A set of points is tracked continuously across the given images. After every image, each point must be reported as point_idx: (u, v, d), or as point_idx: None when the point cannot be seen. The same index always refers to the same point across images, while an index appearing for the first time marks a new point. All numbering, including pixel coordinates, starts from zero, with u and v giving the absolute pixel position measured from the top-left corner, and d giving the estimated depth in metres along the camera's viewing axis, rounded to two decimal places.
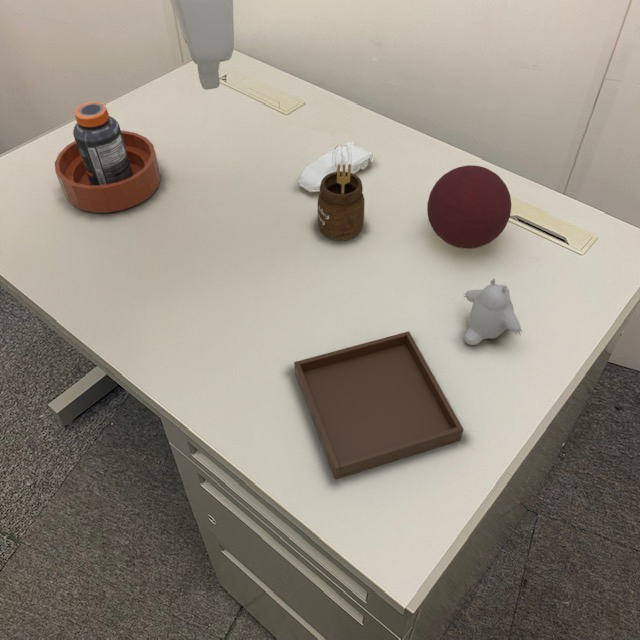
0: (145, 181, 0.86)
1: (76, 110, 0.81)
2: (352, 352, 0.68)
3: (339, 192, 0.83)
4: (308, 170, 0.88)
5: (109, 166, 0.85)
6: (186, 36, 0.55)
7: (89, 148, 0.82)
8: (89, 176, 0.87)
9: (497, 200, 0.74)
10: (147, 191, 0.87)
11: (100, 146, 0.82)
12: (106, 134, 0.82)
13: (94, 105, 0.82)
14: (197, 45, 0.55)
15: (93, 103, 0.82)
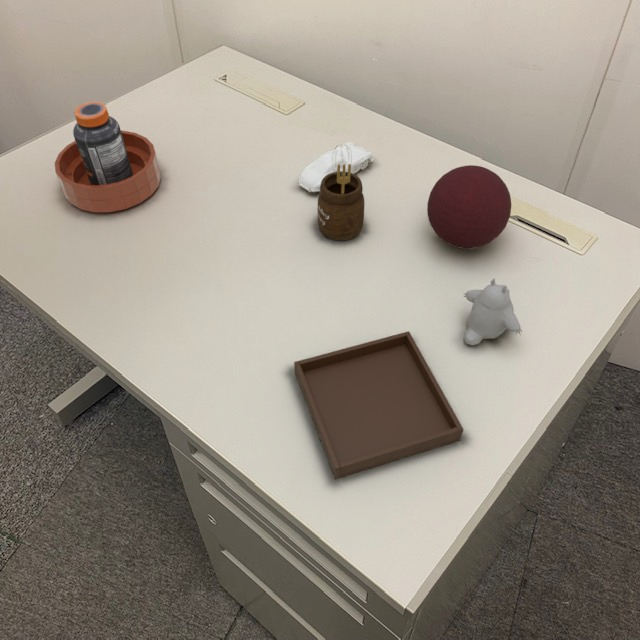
0: (145, 181, 0.86)
1: (76, 110, 0.81)
2: (352, 352, 0.68)
3: (339, 192, 0.83)
4: (308, 170, 0.88)
5: (109, 166, 0.85)
6: None
7: (89, 148, 0.82)
8: (89, 176, 0.87)
9: (497, 200, 0.74)
10: (147, 191, 0.87)
11: (100, 146, 0.82)
12: (106, 134, 0.82)
13: (94, 105, 0.82)
14: None
15: (93, 103, 0.82)
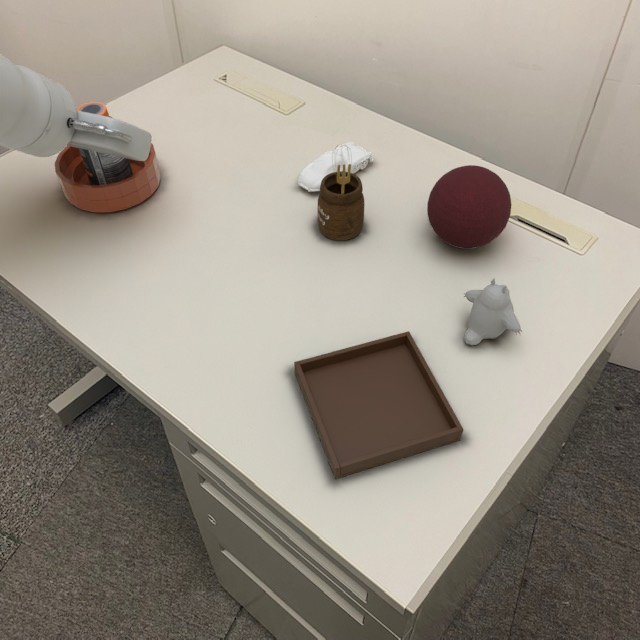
0: (145, 181, 0.86)
1: None
2: (352, 352, 0.68)
3: (339, 192, 0.83)
4: (307, 170, 0.88)
5: (109, 166, 0.85)
6: None
7: None
8: (89, 176, 0.87)
9: (497, 200, 0.74)
10: (147, 191, 0.87)
11: None
12: None
13: (94, 105, 0.82)
14: None
15: (93, 103, 0.82)
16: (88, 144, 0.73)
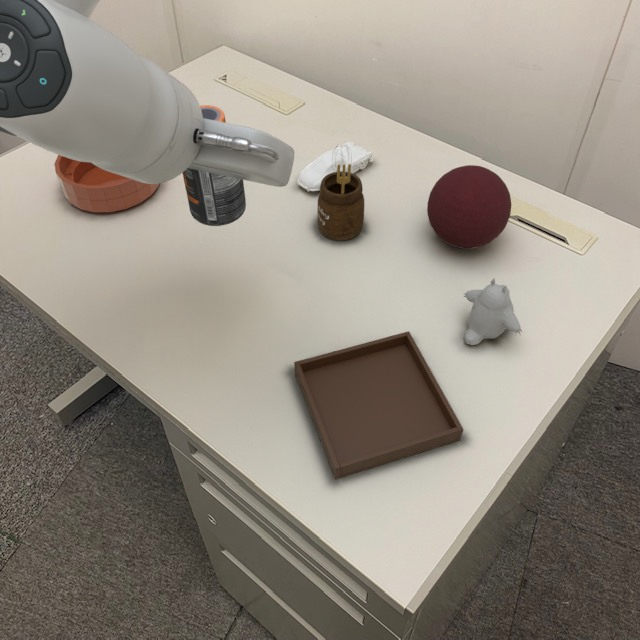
0: None
1: None
2: (352, 352, 0.68)
3: (339, 192, 0.83)
4: (307, 169, 0.88)
5: (223, 191, 0.64)
6: None
7: None
8: (193, 204, 0.65)
9: (497, 200, 0.74)
10: (147, 191, 0.87)
11: None
12: None
13: (208, 109, 0.61)
14: None
15: (205, 107, 0.61)
16: (218, 165, 0.52)
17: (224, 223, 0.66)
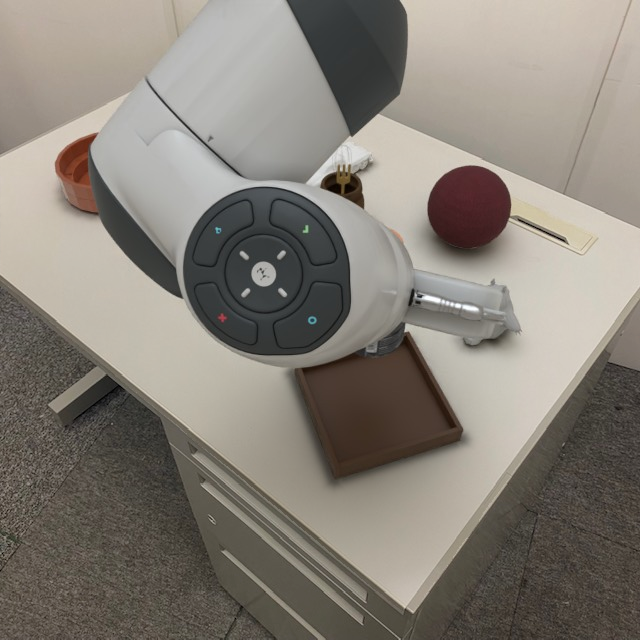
0: None
1: None
2: None
3: (339, 192, 0.83)
4: None
5: None
6: None
7: None
8: None
9: (497, 200, 0.74)
10: None
11: None
12: None
13: None
14: None
15: None
16: (430, 328, 0.42)
17: (383, 354, 0.56)
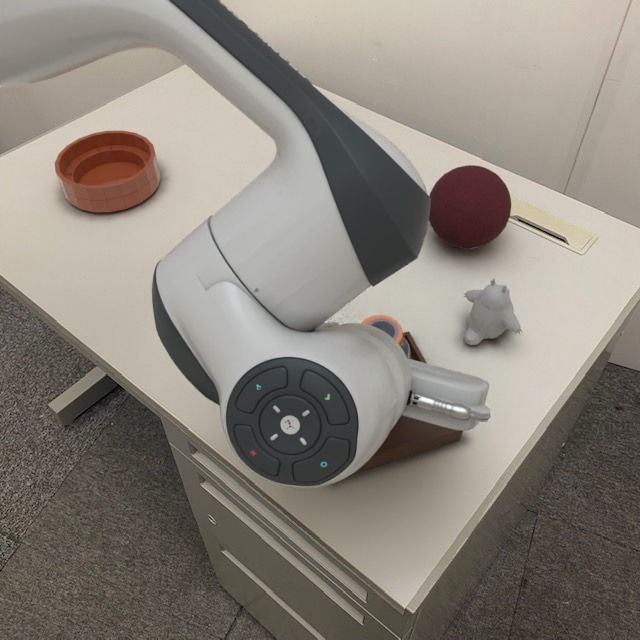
0: (145, 181, 0.86)
1: None
2: None
3: None
4: None
5: None
6: None
7: None
8: None
9: (497, 200, 0.74)
10: (147, 191, 0.87)
11: None
12: None
13: (384, 323, 0.57)
14: None
15: (380, 318, 0.58)
16: (425, 421, 0.49)
17: None
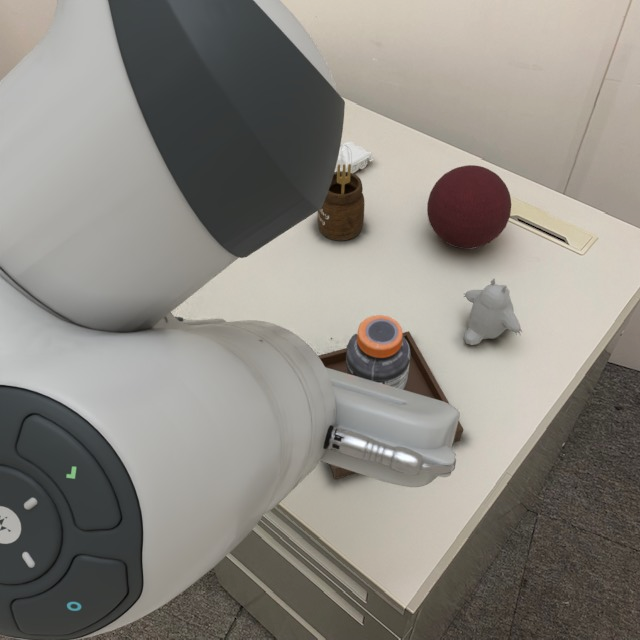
0: None
1: (361, 332, 0.57)
2: None
3: (339, 192, 0.83)
4: None
5: None
6: None
7: None
8: None
9: (497, 200, 0.74)
10: None
11: (390, 380, 0.58)
12: (401, 365, 0.57)
13: (384, 323, 0.57)
14: None
15: (380, 318, 0.58)
16: None
17: None
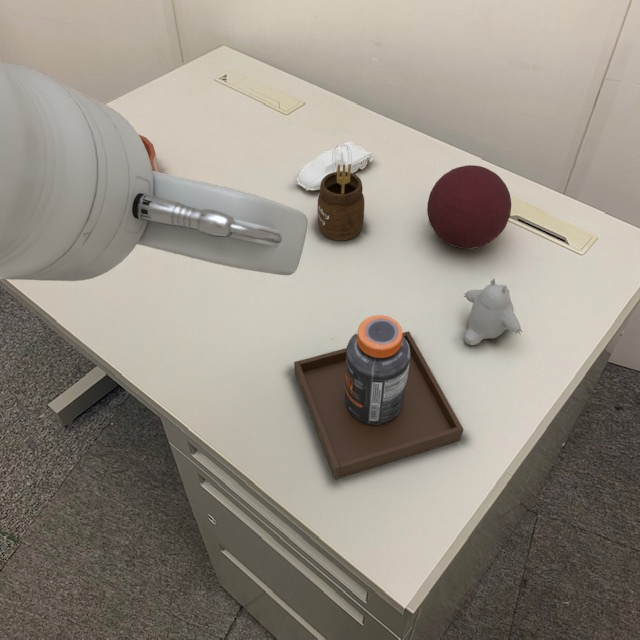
0: None
1: (360, 332, 0.57)
2: None
3: (339, 192, 0.83)
4: (306, 168, 0.89)
5: (391, 398, 0.60)
6: None
7: (374, 382, 0.58)
8: (354, 405, 0.62)
9: (497, 200, 0.74)
10: None
11: (390, 380, 0.58)
12: (401, 365, 0.57)
13: (384, 323, 0.57)
14: None
15: (380, 318, 0.58)
16: (179, 253, 0.31)
17: (385, 422, 0.63)
